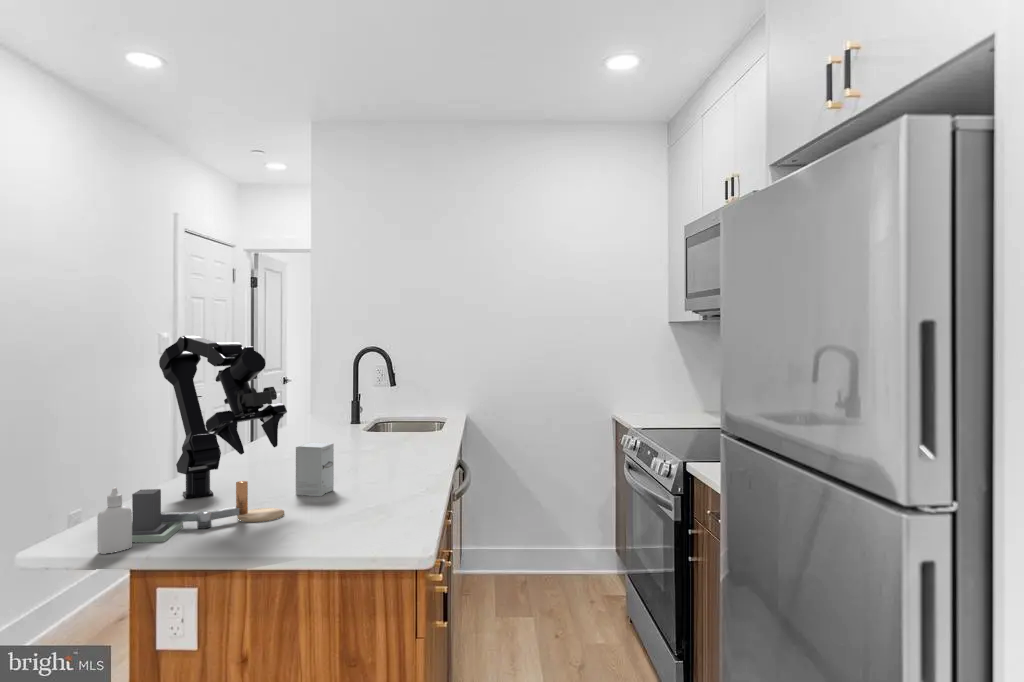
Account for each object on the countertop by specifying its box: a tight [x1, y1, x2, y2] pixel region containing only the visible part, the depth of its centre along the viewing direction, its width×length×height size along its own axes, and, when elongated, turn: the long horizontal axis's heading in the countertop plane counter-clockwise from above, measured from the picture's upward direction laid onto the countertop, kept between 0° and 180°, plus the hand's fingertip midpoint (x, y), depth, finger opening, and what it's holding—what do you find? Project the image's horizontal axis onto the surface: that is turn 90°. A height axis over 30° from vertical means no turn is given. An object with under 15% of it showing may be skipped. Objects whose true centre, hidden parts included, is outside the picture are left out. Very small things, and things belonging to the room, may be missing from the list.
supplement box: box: [295, 442, 335, 497], centre depth 175 cm, size 7×7×13 cm
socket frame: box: [132, 522, 184, 544], centre depth 139 cm, size 10×10×1 cm
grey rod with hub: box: [161, 480, 249, 529], centre depth 146 cm, size 21×8×8 cm, turn 93°
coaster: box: [236, 507, 285, 523], centre depth 153 cm, size 10×10×1 cm
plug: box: [131, 488, 168, 535], centre depth 139 cm, size 6×6×9 cm
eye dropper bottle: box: [96, 487, 133, 555], centre depth 129 cm, size 4×6×12 cm
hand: (259, 450), depth 158 cm, fingers open, 9 cm apart
